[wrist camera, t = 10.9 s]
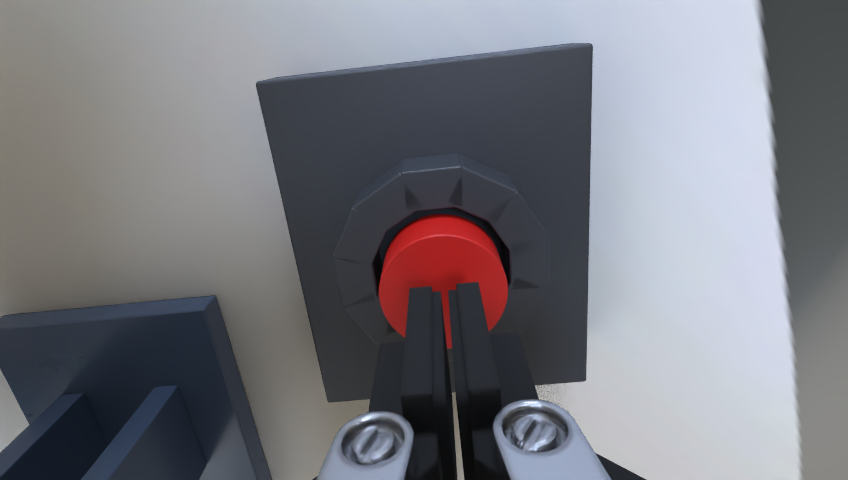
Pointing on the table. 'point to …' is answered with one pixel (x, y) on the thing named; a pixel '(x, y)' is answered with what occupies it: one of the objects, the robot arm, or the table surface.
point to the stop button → (441, 267)
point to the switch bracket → (128, 395)
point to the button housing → (438, 193)
